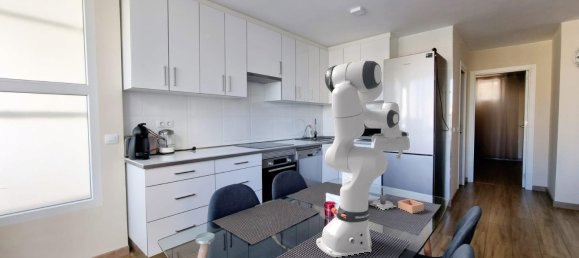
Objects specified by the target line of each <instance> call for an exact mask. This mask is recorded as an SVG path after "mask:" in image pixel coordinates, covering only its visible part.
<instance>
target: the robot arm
mask: <svg viewBox="0 0 579 258" xmlns="http://www.w3.org/2000/svg"><path fill="white" fill-rule="evenodd" d="M382 73H383V72H382V69H381V66H380V64H379V63H378V62H377V61H375V60H364V59H363V60H358V61H353V62H352V61H349V62H346V63H341V64H339V65H333V66H331V67H328V68H327V70H326V72H325V74H324V83H325V85H326V88H327V89H328V91H330V93H331V112H332V113H331V114H332V120H333V124H334V125H333V127H334V140H333V143H332V144H331V145H330V146H329V147H328V148H327V149H326V150H325V154H324V162H325V164H326V166H327V167H328V168H330V169H332V170H335V171H336V172H340V173H341V172H347V173H352V174H353V177H352V181H349V182H347V183H345V184H344V185H341V187H340V189H339V206H338V208H336V207H332V208H331V213H332V214H335V217H333V218H332V219H331V220H330V221H329V222H328V223H327V224H326V225H325V226H324V228H323V230H322V232H321V233H322V234H321V236H320V237H318V238H317V239H316V241H315V244H316V245H317V247H318V248H319V249H320V250H321V251H322V252H324V253H325V254H326V255H328V256H330V257H333V258H336V257H338V258H343V257H342V256H345V257H349V256H348V255H351V256H355V255H354V254H357V255H360V254H359V253H364V252H370V253H371V252H372V246H373V242H372V238H371V234H370V226H369V219H370V208H369V196H370V195H369V194H370V189H371V186H372V185H373V183H374V181H375V180H376V179H378V178H379V177H380V176H382V175H384V173H385V172H386V171H387V169H388V165H389V163H388V162H389V161H388V158H387V157H388V156H387V154H386V153H385V152H394V151H397V152H398V154H397V155H396V159H398V160H400V159H401V156H402V155H403V153H404V151H409V150H410V148H411V145H410V137H409V135H410V134H409V132H407V131H404V130H401V129H400V125H399V124H400V109H399V108H400V106H399V104H398V103H397V102H391V101H388V102H384V103H382V107H381V109H379V108H378V109H377V108H376V109H375V108H374V109H372V108H371V109H370V108H367V104H369V103H372V102H374V101H376V100H377V99H378V98H379V97H380V96H381V95H382V92H383V88H384V86H383V82H382V76H383V74H382ZM365 129H380V131H381V132H380V133H374V134H372V136H371V144H370V147H368V146H367V147H366V146H357V145H355V143H354V142H355V140H357V139H359V138H360V137H361V136H362V135H363V134H364V132H365ZM364 254H365V253H364Z"/></svg>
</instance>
